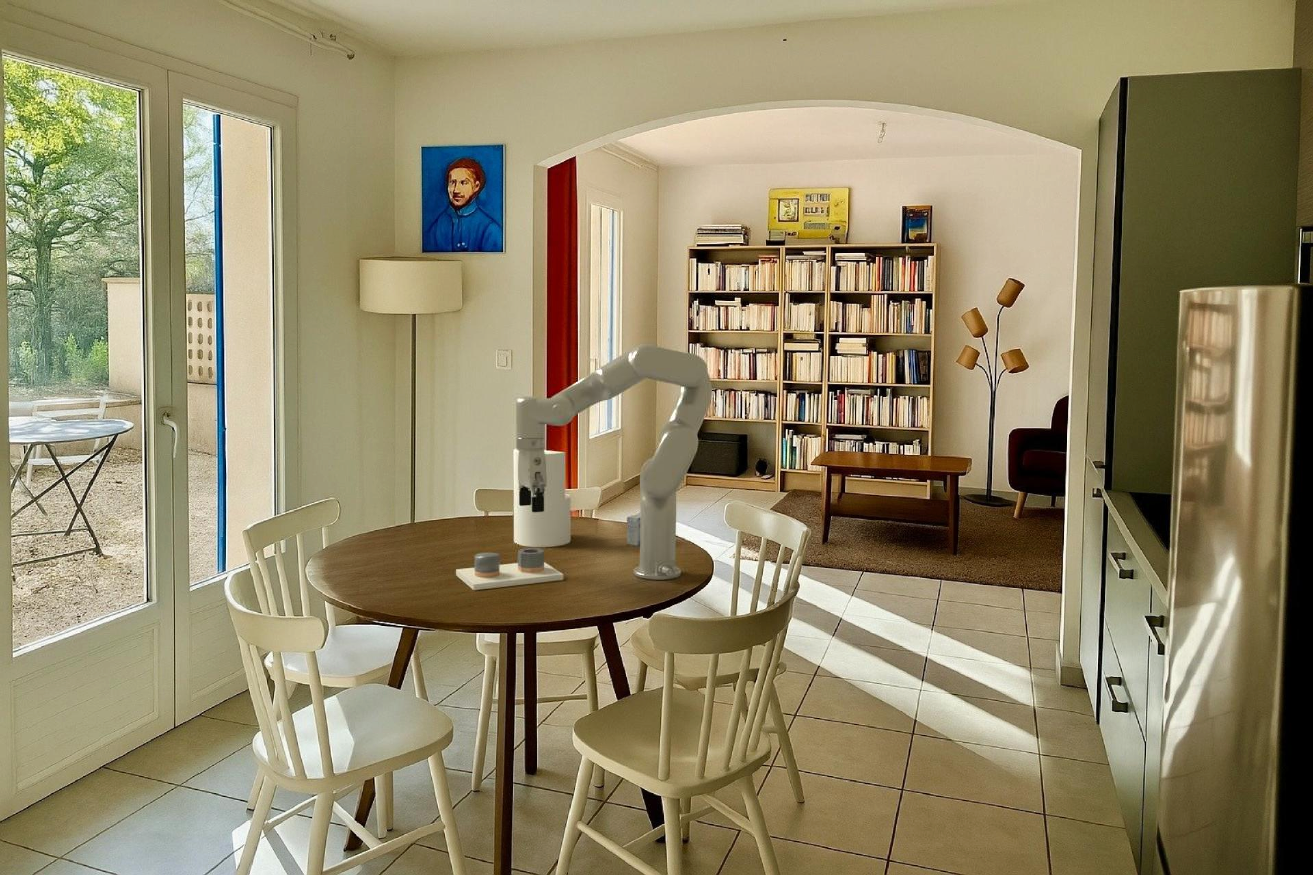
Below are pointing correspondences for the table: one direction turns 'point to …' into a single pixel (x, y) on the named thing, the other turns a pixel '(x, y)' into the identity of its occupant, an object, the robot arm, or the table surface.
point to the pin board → (502, 573)
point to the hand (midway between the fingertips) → (531, 508)
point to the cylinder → (556, 516)
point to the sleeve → (531, 560)
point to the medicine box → (633, 530)
